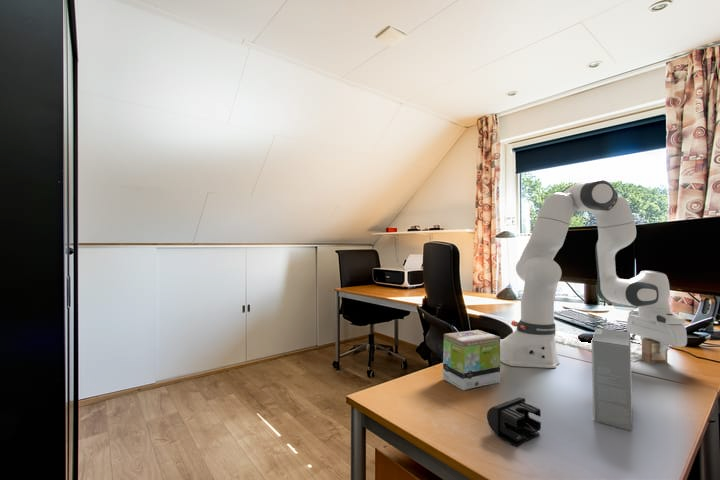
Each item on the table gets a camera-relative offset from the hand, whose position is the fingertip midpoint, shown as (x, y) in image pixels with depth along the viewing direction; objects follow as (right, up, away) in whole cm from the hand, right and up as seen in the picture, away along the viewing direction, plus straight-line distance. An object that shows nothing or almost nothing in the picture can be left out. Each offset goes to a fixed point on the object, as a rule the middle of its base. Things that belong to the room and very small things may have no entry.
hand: (654, 351), depth 122 cm
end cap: (-74, -3, -47) cm, 88 cm away
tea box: (-74, -4, -18) cm, 76 cm away
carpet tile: (-4, -5, +24) cm, 25 cm away
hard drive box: (-45, -3, -38) cm, 59 cm away
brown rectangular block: (0, -4, 0) cm, 4 cm away
